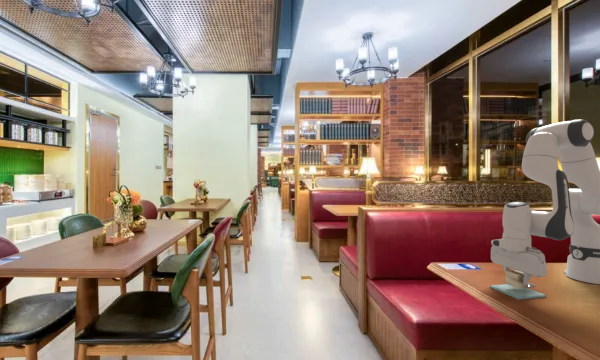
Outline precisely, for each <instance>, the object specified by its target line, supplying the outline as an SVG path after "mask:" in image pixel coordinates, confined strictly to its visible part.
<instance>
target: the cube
mask: <svg viewBox="0 0 600 360" xmlns="http://www.w3.org/2000/svg"><path fill="white" fill-rule="evenodd" d="M504 274H505V276H504V277H505V278H504V279H505V281H504V282H505V284H508V285H510V286H513V287H515V288H530V287H529V284H528V285H524V284H522V283H521V279H523V278H524V277H525V275H523V272H521V271H518V270H515V269H511V270H510V269H509V270H508V271H504Z"/></svg>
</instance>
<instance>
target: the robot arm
mask: <svg viewBox="0 0 600 360" xmlns="http://www.w3.org/2000/svg"><path fill="white" fill-rule="evenodd" d="M594 137H595V129H594V126H593V124H592V123H591V122H590V121H588V120H586V119H573V120H567V121H566V120H565V121H560V122H555V123H551V124H548V125H544V126H539V127H535V128H532V129H531V130H529V132H528V133H527V134H526V137H525V143H526V144H525V147H524V150H523V155H522V161H521V171H522V173H523V174H524V176H525V177H526V178H529V179H530V180H533V181H535V182H538V183H541V184H544V185H547V187H549V188H550V191H551V199H552V210H551V211H543V210H542V211H541V210H533V209H531V208H530V204H529V203H527V202H523V201H512V202H507V203H506V204H504V207H503V211H502V222H501V223H502V228H503V232H502V238H498V239H492V240H491V241H490V243H491V247H490V260H491V262H492V263H493V264H497V265H500V266H502V270H503V271H504V272H505V271H508V270H510V269H511V270H518V271H521V272H523V275H525V277H524V278H523V279H521V283H522V284H524V285H528V284H529V283H530V282H529V281H530V279H531V278H532V277H533V276H534V277H536V278H543V277H546V276H547V274H548V269H547V263H546V256H545V254H544V253H543V252H542V251H541V250H539V249H537V250H535V249H532V248H531V247H532V236H535V237H536V236H537V237H541V238H542V237H543V238H548V239H552V240H555V241H563V240H566V239H568V238H570V244H569V247H568V249H569V253H570V254H569V255H567V261H566V267H565V268H566V269H564V270H563V273H564V274H565V276H566V277H568V278H570V279H572V280H577V281H579V282H585V283H589V284H594V285H595V284H596V285H600V224H599V223H597V221H596V220H594V218H593V215H595V216H600V168H599V165H598V162H597V158H596V154H595V151H594V148H593V145H592V143H591V142H592V140H593V139H594ZM558 161H559V162H560V166H561V170H560V168H559V163H558ZM569 182H570V183H571V184H574V185H575V186H577V187H578V188H570V185H569ZM531 235H532V236H531Z"/></svg>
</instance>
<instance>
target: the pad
mask: <svg viewBox="0 0 600 360" xmlns="http://www.w3.org/2000/svg"><path fill="white" fill-rule="evenodd" d="M489 287H490V288H491V289H492V290H495V291H496V292H497V291H498V292H499V293H501V294H505V295H507V296H509V297H511V298H513V299H516V300H518V301H519V300H530V299H531V300H532V299H541V298H546V297H547V295H546V294H545V293H542V292H539V291H538V290H537V291H536V290H534V289H532V288H530V287H527V288H515V287H513V286H510V285H508V284H490V285H489Z"/></svg>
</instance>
